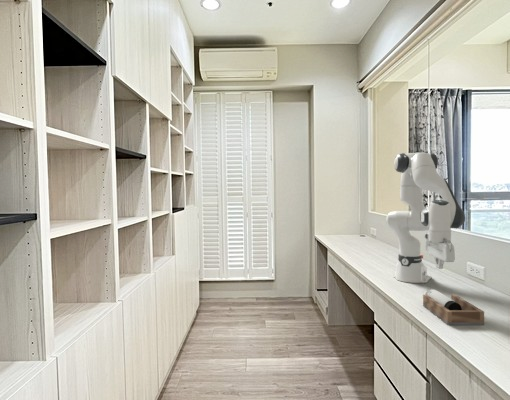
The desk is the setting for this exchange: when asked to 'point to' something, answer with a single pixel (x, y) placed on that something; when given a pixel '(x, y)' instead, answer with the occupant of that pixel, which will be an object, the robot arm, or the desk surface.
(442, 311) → the u rest
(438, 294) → the travel mug
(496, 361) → the desk surface
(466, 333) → the desk surface
